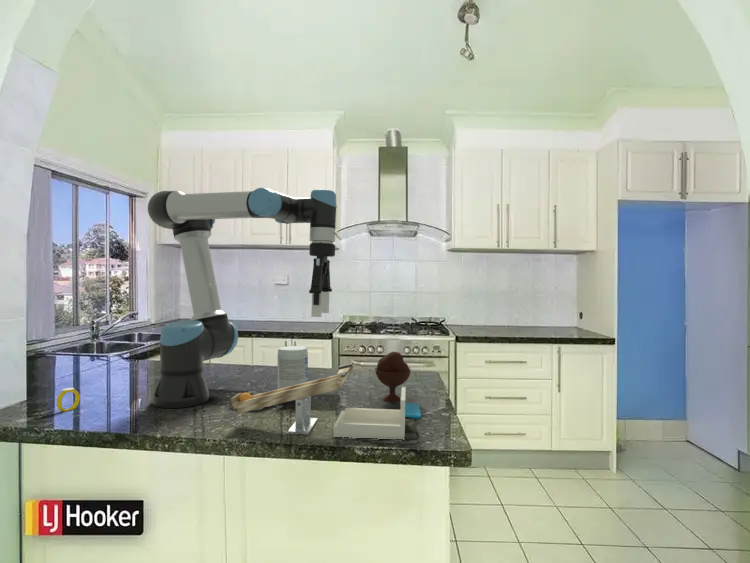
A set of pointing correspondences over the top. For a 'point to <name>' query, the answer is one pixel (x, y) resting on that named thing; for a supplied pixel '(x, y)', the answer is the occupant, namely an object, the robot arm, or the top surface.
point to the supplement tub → (292, 366)
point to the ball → (244, 397)
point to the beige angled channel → (293, 391)
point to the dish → (372, 422)
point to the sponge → (412, 410)
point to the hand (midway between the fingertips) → (320, 314)
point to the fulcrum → (303, 417)
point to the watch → (59, 399)
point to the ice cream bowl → (392, 373)
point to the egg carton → (252, 395)
